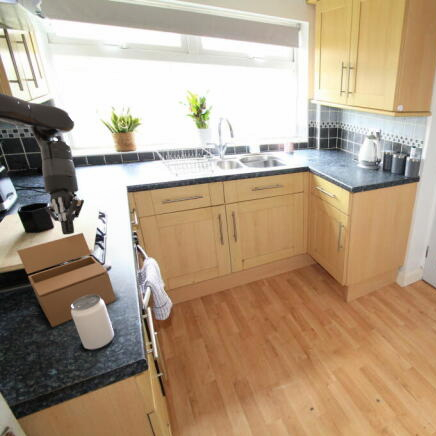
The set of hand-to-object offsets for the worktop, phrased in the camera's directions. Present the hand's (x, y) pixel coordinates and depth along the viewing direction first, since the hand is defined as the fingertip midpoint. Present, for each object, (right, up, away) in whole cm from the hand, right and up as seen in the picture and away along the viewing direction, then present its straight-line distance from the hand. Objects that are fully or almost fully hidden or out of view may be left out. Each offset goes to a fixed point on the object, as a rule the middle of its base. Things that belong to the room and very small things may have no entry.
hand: (68, 233), depth 93 cm
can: (+19, -26, -14) cm, 35 cm away
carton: (+4, -20, -1) cm, 20 cm away
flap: (-2, -5, -2) cm, 6 cm away
